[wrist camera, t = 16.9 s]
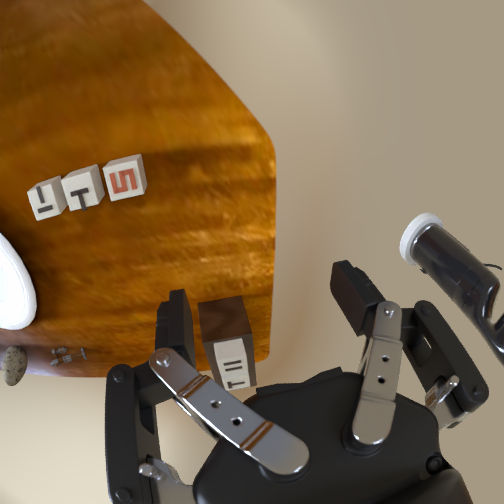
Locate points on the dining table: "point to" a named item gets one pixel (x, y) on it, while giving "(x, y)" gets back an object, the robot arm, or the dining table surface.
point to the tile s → (125, 177)
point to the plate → (15, 289)
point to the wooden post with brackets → (67, 358)
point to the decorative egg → (14, 365)
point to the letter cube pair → (67, 192)
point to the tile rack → (226, 331)
